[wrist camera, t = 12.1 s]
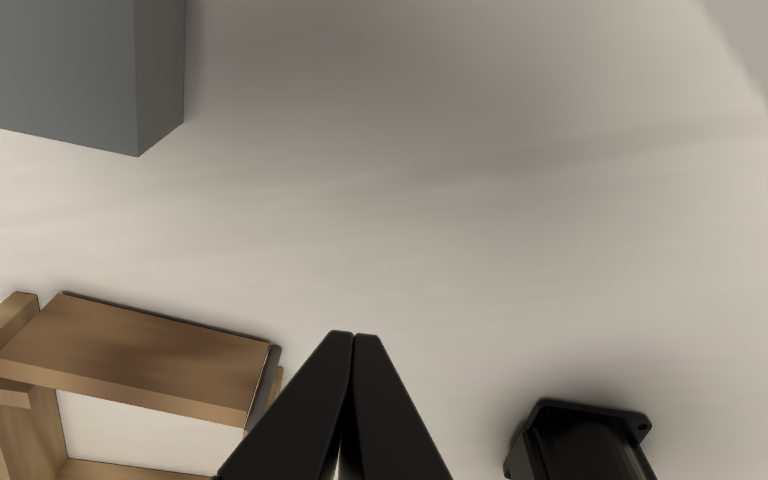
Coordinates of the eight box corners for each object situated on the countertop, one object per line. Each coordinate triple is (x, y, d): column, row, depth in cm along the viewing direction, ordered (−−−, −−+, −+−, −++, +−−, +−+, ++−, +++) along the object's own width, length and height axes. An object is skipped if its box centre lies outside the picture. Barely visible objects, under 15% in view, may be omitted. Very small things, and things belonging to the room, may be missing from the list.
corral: (287, 336, 24) (266, 415, 20) (265, 494, 31) (245, 577, 26) (14, 291, 23) (-71, 365, 18) (52, 466, 29) (-3, 549, 25)
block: (187, -21, 16) (132, -17, 13) (184, 121, 19) (137, 157, 15) (32, -60, 16) (-69, -66, 12) (50, 91, 18) (-29, 122, 15)
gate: (269, 343, 24) (247, 411, 20) (265, 358, 24) (243, 428, 21) (58, 293, 22) (-7, 357, 19) (58, 310, 23) (-4, 376, 19)
